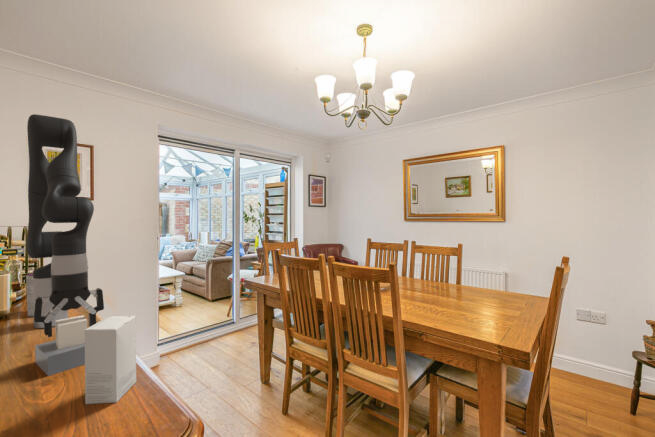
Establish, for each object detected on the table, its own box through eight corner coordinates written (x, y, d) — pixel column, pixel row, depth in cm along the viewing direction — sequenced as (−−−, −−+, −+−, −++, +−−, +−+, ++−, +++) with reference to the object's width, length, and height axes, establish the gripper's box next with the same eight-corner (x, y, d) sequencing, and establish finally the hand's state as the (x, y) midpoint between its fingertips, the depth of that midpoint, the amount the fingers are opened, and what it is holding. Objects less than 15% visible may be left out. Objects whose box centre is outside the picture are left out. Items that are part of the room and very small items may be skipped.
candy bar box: (56, 308, 131) (55, 269, 131) (65, 308, 130) (65, 269, 130) (25, 316, 120) (25, 274, 120) (36, 317, 120) (35, 274, 119)
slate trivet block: (35, 364, 82) (35, 345, 82) (90, 348, 91) (90, 331, 91) (48, 377, 75) (47, 357, 75) (106, 358, 84) (105, 340, 84)
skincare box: (109, 383, 71) (107, 315, 71) (139, 381, 72) (138, 314, 71) (83, 405, 63) (81, 329, 62) (117, 403, 63) (116, 327, 63)
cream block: (55, 342, 83) (55, 320, 83) (84, 336, 87) (83, 315, 87) (58, 349, 79) (57, 325, 79) (87, 342, 83) (87, 320, 83)
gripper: (99, 266, 91) (100, 321, 91) (32, 273, 80) (33, 335, 80) (105, 269, 85) (106, 327, 85) (34, 276, 75) (35, 343, 75)
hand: (71, 331), depth 83 cm, fingers open, 8 cm apart
